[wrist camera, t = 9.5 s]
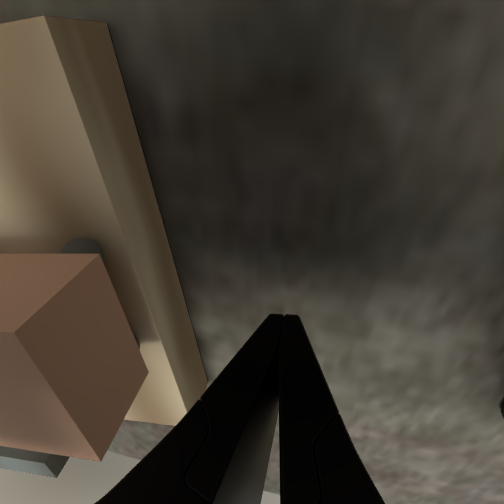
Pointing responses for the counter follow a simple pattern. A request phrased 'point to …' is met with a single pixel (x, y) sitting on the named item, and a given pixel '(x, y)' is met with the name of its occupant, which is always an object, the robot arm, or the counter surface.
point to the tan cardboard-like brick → (64, 353)
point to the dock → (90, 201)
